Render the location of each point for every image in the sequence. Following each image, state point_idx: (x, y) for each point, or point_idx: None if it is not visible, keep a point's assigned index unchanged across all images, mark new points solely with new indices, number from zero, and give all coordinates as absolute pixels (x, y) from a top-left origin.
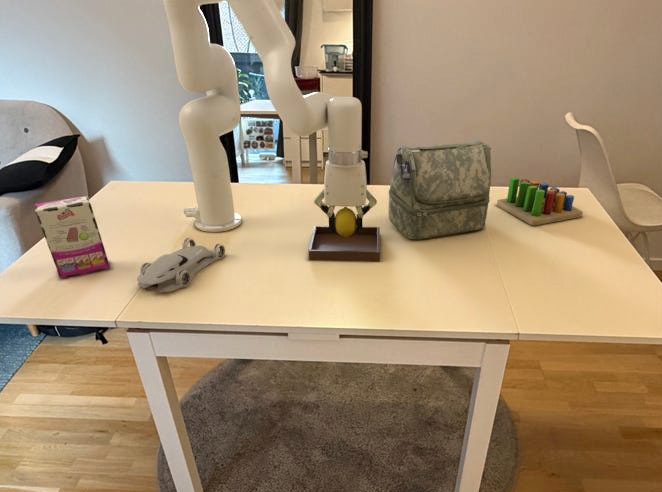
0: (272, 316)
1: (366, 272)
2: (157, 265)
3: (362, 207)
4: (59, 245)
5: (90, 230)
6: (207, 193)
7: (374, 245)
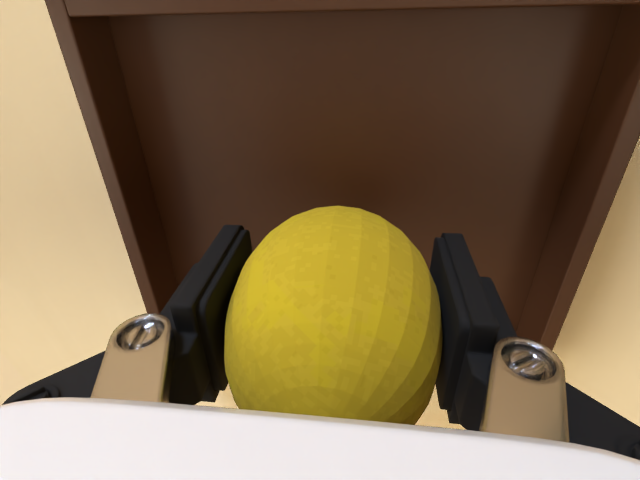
0: None
1: (437, 415)
2: None
3: (563, 418)
4: None
5: None
6: None
7: (538, 207)
